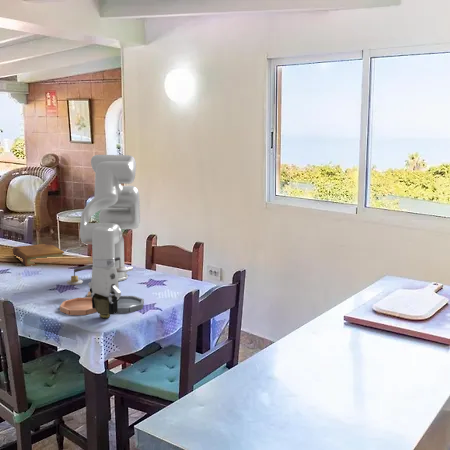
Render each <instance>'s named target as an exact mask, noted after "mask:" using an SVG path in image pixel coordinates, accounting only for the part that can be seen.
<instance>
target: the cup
mask: <svg viewBox="0 0 450 450" xmlns="http://www.w3.org/2000/svg"><path fill="white" fill-rule="evenodd" d="M94 296H95V298H94V304H95V309H96V311H97V312H96V313H97V314H98V315H99V317H100V319H104V320H105V319H109V318H110V317H111V315H110V314H109V303H110V301H109V299H108V297H105V296H102V295H99V294H97V295H94ZM111 298H112V299H113V298H114V297H111Z"/></svg>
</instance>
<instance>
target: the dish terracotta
mask: <svg viewBox="0 0 450 450" xmlns="http://www.w3.org/2000/svg"><path fill="white" fill-rule="evenodd" d="M59 312H61V313H64V314H66V315H68V316H86V315H91V314H95V313H98V312H97V311H96V309H95V308H92V298H86V297H74V298H70V299H67V300H64V301H62V303H61V304H60V305H59Z"/></svg>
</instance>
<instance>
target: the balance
mask: <svg viewBox="0 0 450 450" xmlns="http://www.w3.org/2000/svg"><path fill="white" fill-rule="evenodd" d="M118 260H120V257H117V258H115V261H118ZM126 267H127V266H124V267H116V270H117V272H126V271H128V267H127V268H126ZM92 268H93V263H92V264H88V265H85V266H81V267H78V268H74V269H73V275H71V276H70V279H69V280H67V281H66V285H69V286H77V285H78V286H79V285H82V284H83V283H84V280H83V279H79V275H76V273H77V272H80V271H84V270H88V269H92ZM128 272H129V271H128ZM85 298H92V297H91V292H90V290H89V291H88V292H87V295H86V296H85Z"/></svg>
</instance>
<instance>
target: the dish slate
mask: <svg viewBox="0 0 450 450" xmlns="http://www.w3.org/2000/svg"><path fill="white" fill-rule="evenodd" d="M144 302H145V300H144V298H142V297H140V296H135V295H121V296H120V299H119V301H118V302H117V307H118V312H117V313H116V314H129V313H134V312H136V311H139V310H143V308H144V304H145V303H144Z"/></svg>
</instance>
